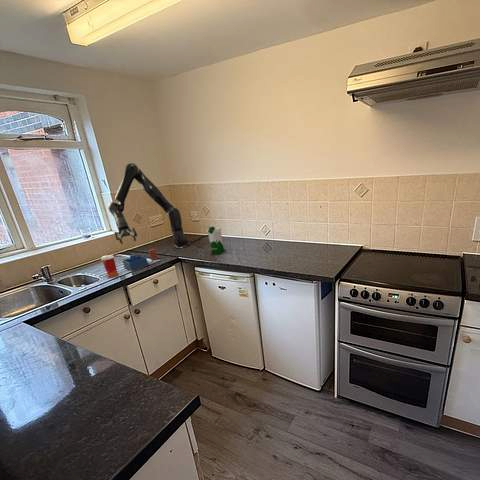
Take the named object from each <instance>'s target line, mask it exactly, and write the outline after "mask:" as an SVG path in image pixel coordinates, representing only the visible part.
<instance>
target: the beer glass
mask: <svg viewBox="0 0 480 480" xmlns="http://www.w3.org/2000/svg"><path fill="white" fill-rule="evenodd" d="M100 260H101V262H102V264H103V267H104V269H105V271H106V274H107V276H108V278H117V277H118V276H119V274H118V270H117V265H116V261H115V256H114V255H113V254H105V255H103V256H101V258H100Z"/></svg>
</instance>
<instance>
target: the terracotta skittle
mask: <svg viewBox="0 0 480 480" xmlns="http://www.w3.org/2000/svg"><path fill="white" fill-rule="evenodd" d="M149 255H150V259H151V261H157V260H158V254H157V251H156V248H150V249H149Z"/></svg>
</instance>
